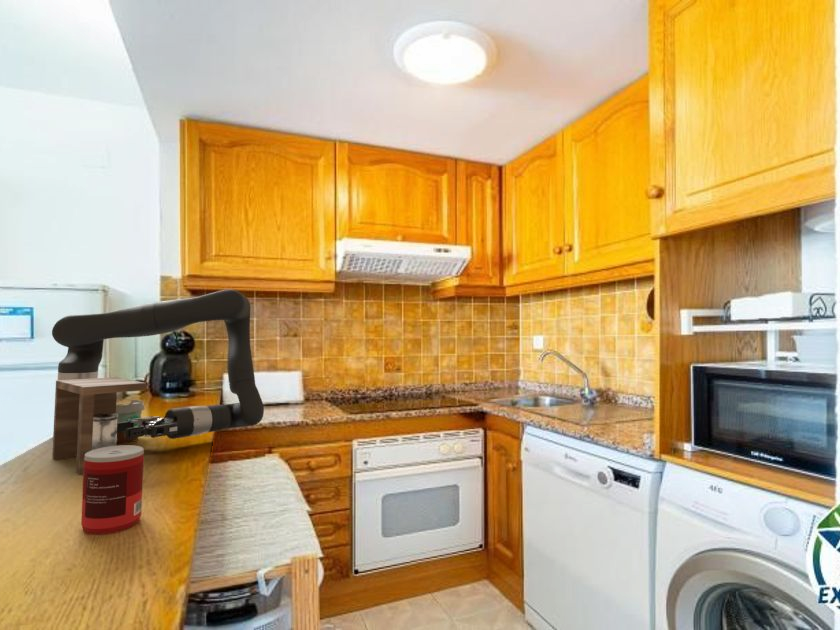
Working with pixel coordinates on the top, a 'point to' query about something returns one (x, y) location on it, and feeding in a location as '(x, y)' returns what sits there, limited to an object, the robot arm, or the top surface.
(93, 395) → the walnut shelf
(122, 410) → the food container
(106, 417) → the steel tin
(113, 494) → the canned food
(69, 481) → the top surface
